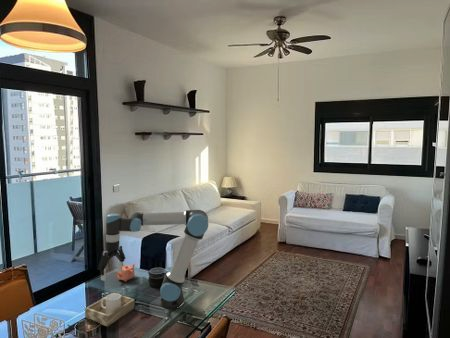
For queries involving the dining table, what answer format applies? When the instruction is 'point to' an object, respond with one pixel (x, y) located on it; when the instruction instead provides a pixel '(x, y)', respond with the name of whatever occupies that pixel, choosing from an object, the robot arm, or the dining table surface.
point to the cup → (111, 302)
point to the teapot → (126, 273)
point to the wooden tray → (101, 317)
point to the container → (156, 277)
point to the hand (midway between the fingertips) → (111, 276)
